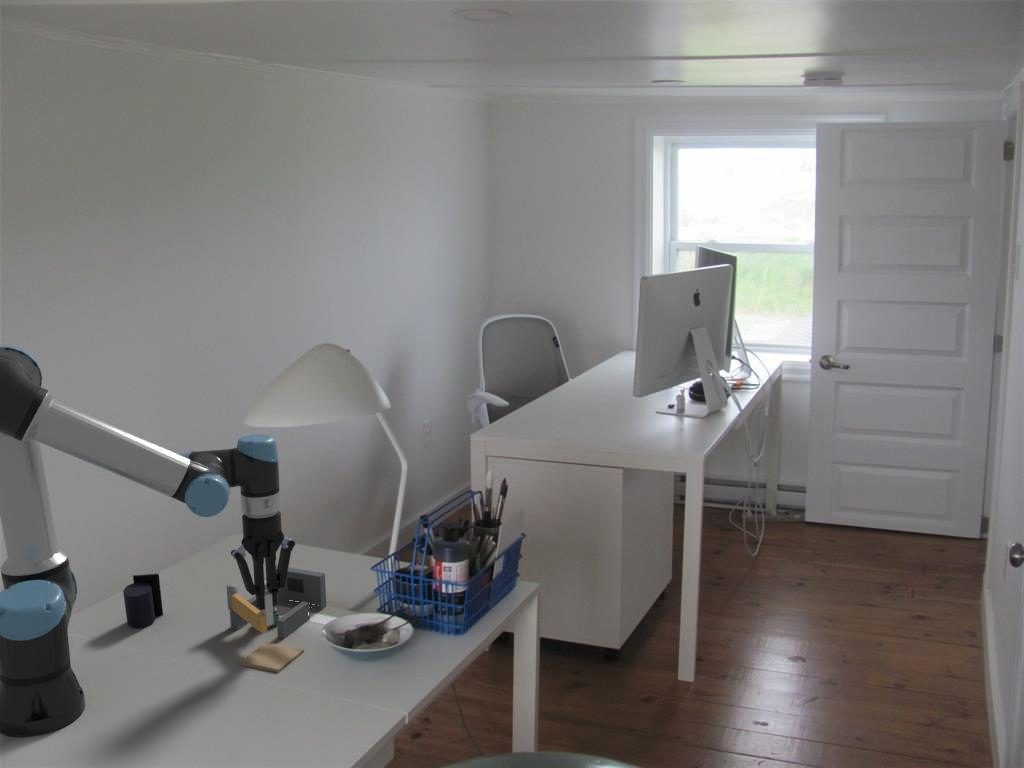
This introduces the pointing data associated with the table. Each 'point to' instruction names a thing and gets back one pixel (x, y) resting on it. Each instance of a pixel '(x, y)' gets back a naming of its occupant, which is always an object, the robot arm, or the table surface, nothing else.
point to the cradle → (296, 588)
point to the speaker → (143, 600)
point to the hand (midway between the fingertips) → (267, 622)
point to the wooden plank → (245, 609)
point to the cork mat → (271, 657)
